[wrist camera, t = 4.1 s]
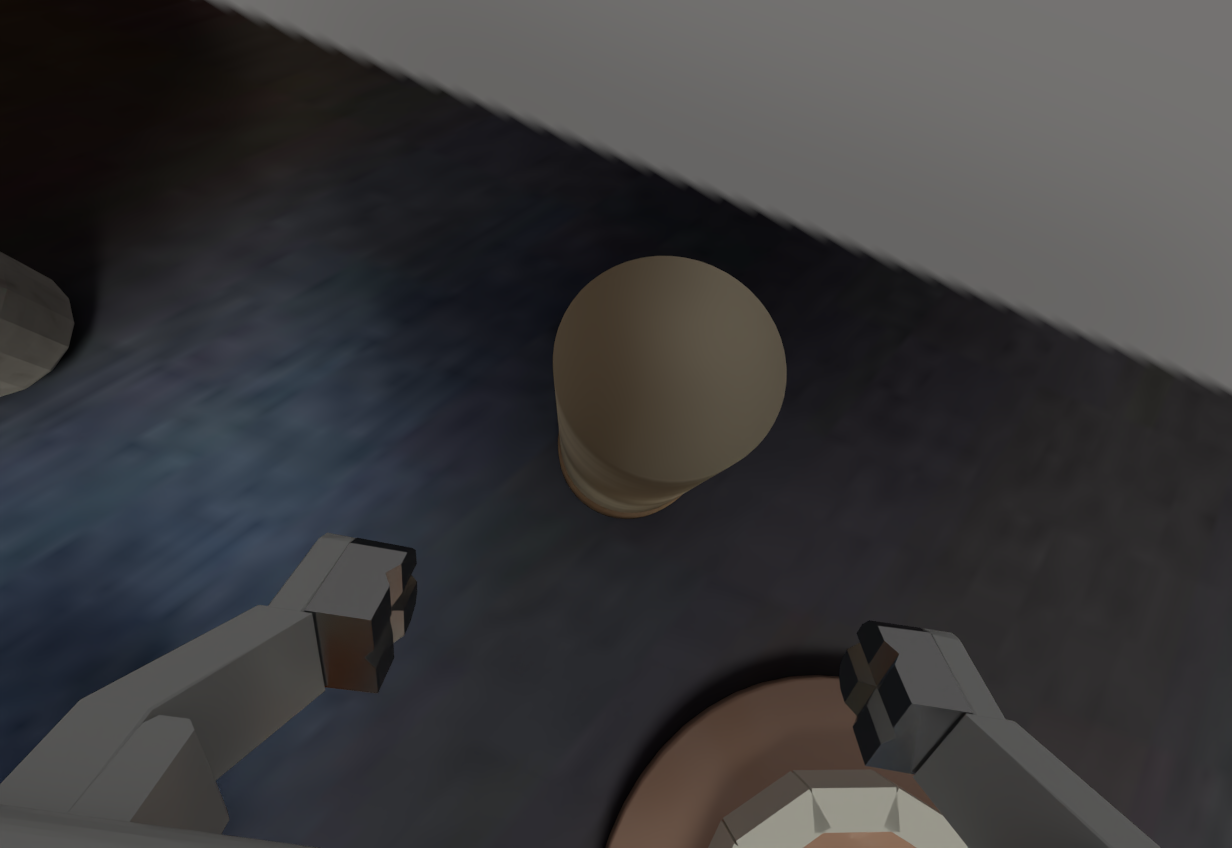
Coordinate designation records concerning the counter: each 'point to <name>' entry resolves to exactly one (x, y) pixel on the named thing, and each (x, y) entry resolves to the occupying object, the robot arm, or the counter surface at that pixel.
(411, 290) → the counter surface
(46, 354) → the decorative mushroom
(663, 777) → the collar dish
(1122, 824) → the robot arm
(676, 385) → the beige cylinder
